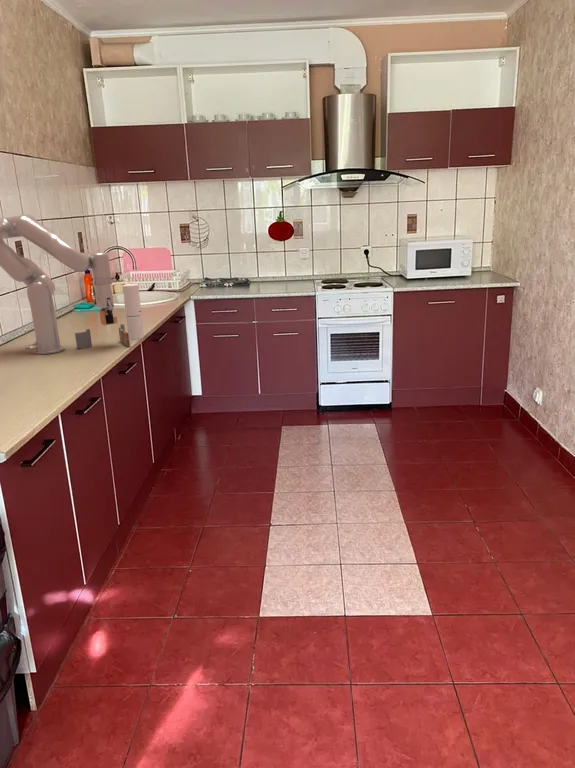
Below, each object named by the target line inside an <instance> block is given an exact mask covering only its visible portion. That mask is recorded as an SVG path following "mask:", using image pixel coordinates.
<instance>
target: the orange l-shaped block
mask: <svg viewBox="0 0 575 768" xmlns="http://www.w3.org/2000/svg"><path fill="white" fill-rule="evenodd" d="M105 315H106V312H105V310H101V309H100V310H99V317H100V323H101V325H103V326H109V325H114V324H118V317H117V315H114V314H113V320H114V323H112V324H106V317H105Z"/></svg>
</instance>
